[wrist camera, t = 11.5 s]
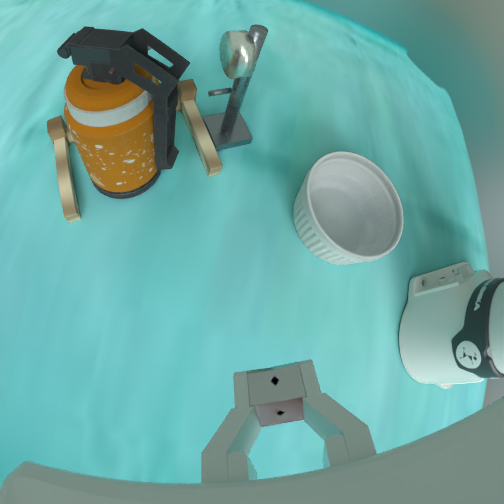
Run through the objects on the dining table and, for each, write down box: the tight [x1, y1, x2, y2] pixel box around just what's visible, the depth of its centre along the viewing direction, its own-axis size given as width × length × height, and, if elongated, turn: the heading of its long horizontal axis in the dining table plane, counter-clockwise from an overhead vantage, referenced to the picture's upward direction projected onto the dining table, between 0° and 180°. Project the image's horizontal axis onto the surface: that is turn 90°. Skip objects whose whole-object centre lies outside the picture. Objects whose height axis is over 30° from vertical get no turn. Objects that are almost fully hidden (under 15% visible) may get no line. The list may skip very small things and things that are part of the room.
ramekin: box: [293, 151, 404, 265], centre depth 35 cm, size 13×13×7 cm
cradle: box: [47, 79, 222, 223], centre depth 33 cm, size 13×20×4 cm, turn 112°
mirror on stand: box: [203, 25, 268, 151], centre depth 30 cm, size 6×5×17 cm
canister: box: [57, 27, 190, 199], centre depth 25 cm, size 9×11×20 cm
